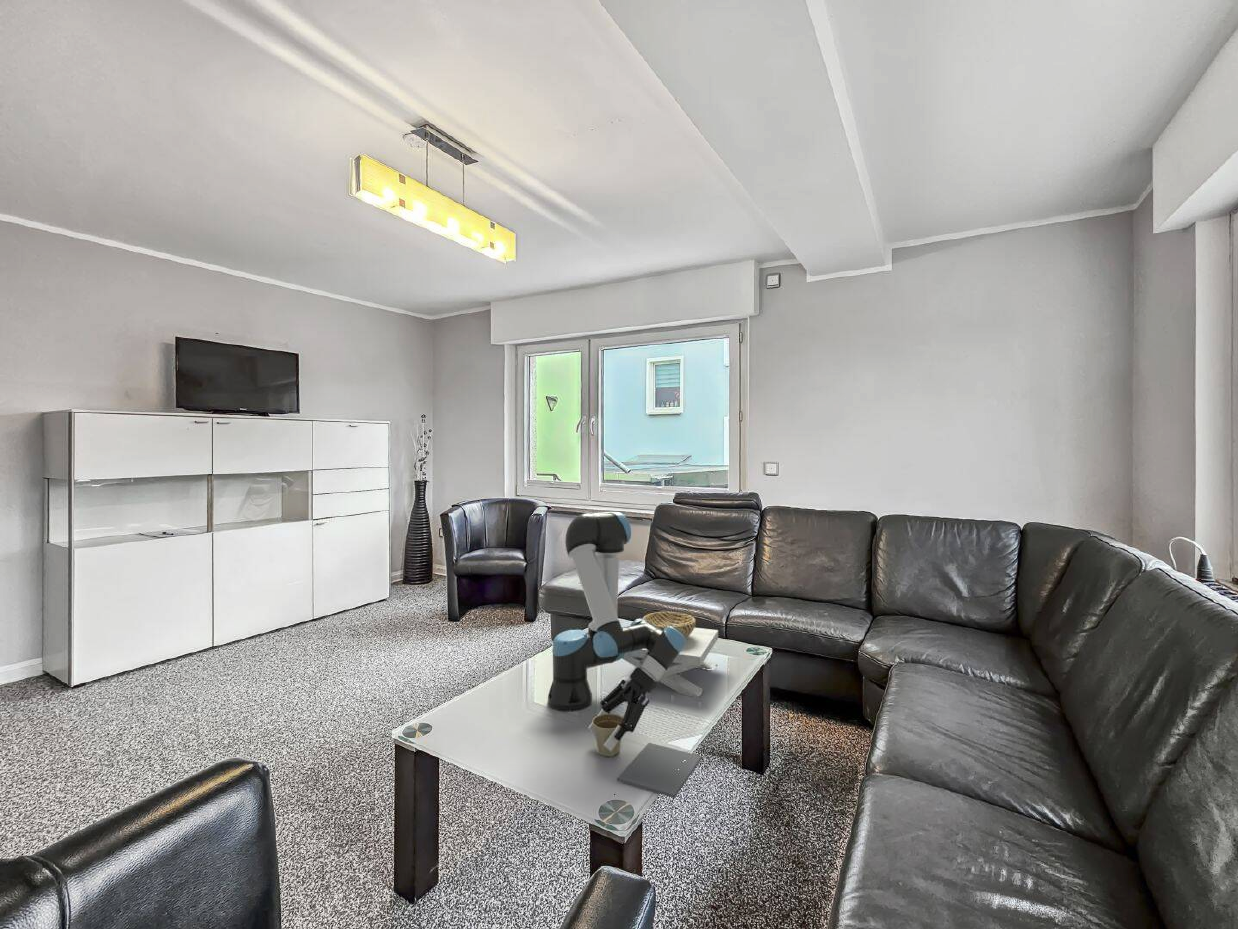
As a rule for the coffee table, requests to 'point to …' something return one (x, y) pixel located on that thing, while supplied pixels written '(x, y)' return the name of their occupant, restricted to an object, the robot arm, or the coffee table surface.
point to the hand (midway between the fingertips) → (599, 739)
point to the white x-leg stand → (690, 654)
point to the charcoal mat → (660, 769)
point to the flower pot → (606, 732)
